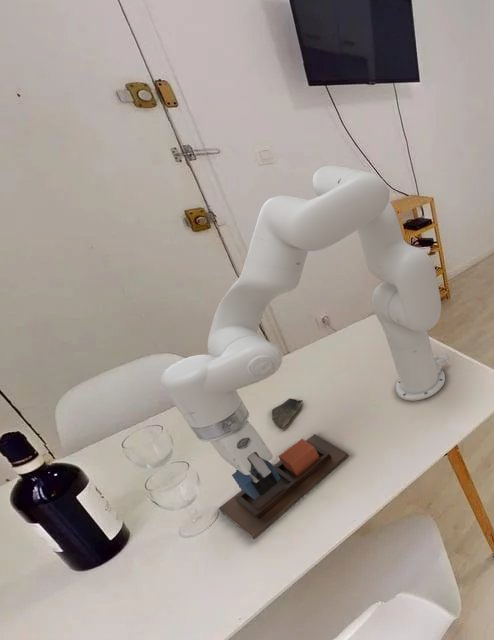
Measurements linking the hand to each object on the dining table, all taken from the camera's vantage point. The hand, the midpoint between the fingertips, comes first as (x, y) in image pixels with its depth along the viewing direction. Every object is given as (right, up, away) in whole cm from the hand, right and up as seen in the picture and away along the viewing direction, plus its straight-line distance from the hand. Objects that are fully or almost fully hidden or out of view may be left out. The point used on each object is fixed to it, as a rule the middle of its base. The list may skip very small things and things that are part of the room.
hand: (260, 482), depth 81 cm
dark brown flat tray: (+2, -2, +5) cm, 6 cm away
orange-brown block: (+4, 0, +8) cm, 8 cm away
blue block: (0, 0, 0) cm, 0 cm away
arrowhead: (-9, +6, +21) cm, 24 cm away
